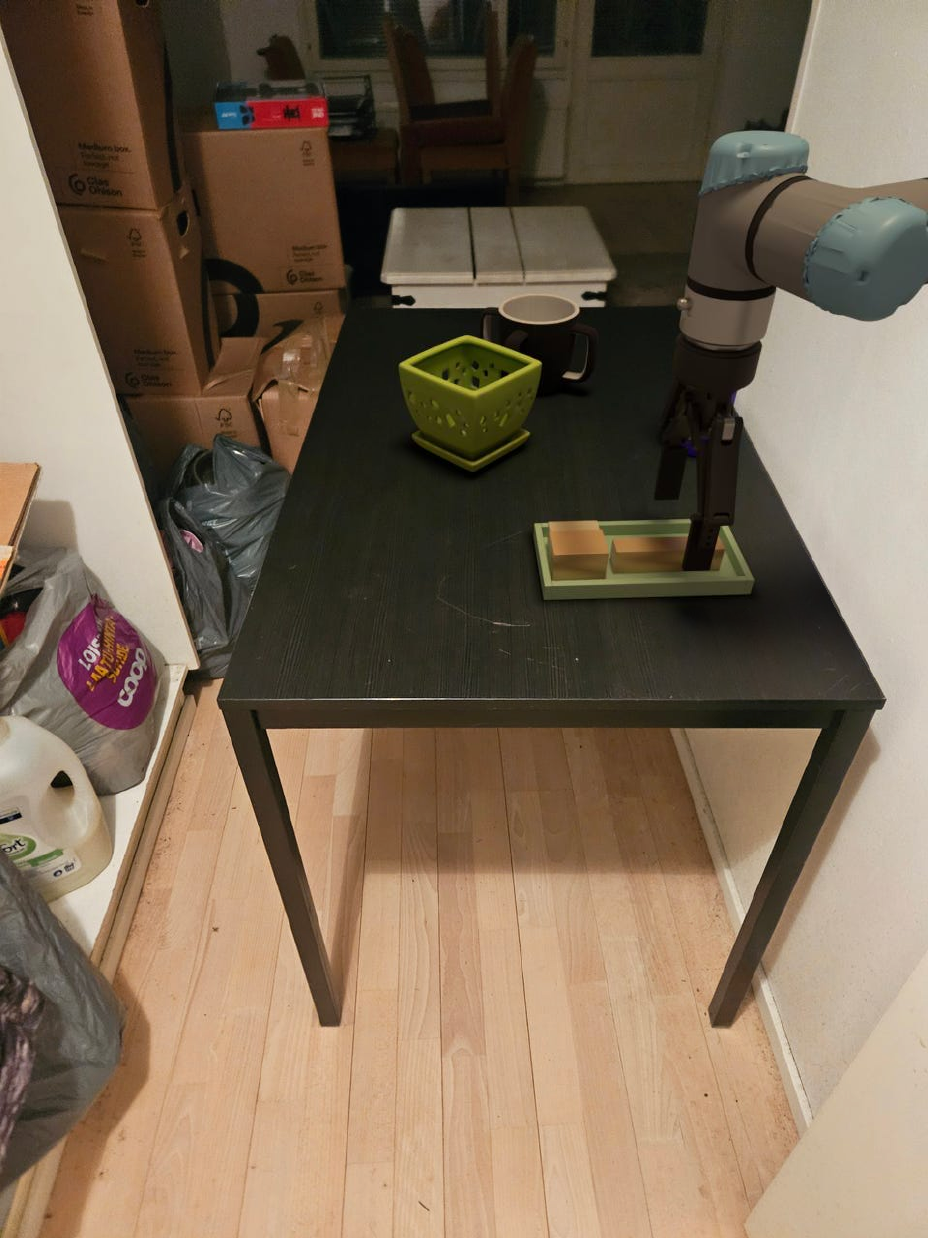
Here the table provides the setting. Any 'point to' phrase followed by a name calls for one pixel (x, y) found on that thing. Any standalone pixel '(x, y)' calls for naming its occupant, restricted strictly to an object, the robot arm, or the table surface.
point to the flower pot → (470, 400)
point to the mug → (543, 335)
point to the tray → (648, 584)
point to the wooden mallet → (612, 552)
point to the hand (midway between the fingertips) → (679, 531)
